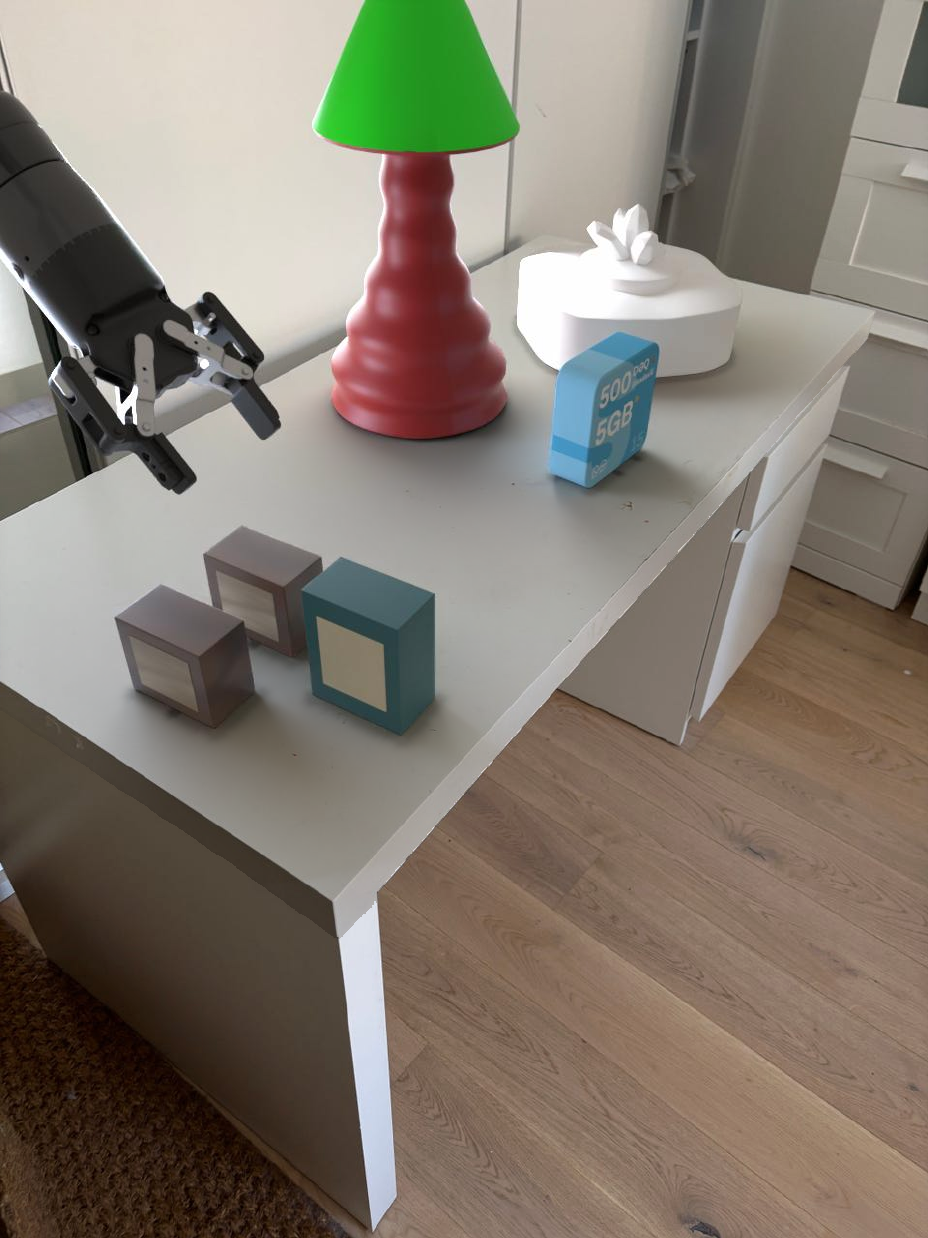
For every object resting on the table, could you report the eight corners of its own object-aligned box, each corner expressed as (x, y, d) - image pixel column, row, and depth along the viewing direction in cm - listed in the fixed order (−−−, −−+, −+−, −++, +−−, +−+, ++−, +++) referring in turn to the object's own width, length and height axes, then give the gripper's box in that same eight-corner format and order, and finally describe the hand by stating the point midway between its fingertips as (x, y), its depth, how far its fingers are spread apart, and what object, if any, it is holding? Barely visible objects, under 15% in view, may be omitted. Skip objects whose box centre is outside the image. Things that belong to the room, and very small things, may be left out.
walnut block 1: (213, 729, 70) (198, 657, 65) (133, 688, 73) (113, 617, 68) (256, 691, 73) (244, 620, 68) (176, 653, 76) (160, 582, 71)
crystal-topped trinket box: (558, 386, 112) (571, 246, 102) (501, 304, 131) (507, 178, 120) (754, 368, 117) (786, 232, 107) (673, 291, 136) (693, 169, 125)
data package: (584, 494, 95) (597, 380, 87) (546, 478, 97) (556, 366, 89) (645, 446, 102) (662, 338, 94) (609, 433, 104) (622, 326, 96)
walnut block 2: (292, 658, 76) (283, 588, 71) (214, 623, 79) (201, 553, 74) (328, 625, 79) (322, 556, 74) (252, 593, 82) (241, 524, 77)
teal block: (400, 736, 69) (397, 630, 63) (312, 694, 72) (300, 590, 66) (435, 697, 72) (435, 593, 66) (348, 659, 76) (340, 556, 69)
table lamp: (366, 457, 99) (338, -83, 70) (309, 376, 113) (266, -103, 84) (537, 422, 106) (576, -86, 77) (463, 350, 119) (473, -104, 91)
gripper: (-2, 256, 55) (181, 485, 58) (174, 193, 65) (324, 393, 68) (-34, 324, 61) (135, 530, 64) (133, 257, 70) (273, 439, 73)
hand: (232, 459), depth 66 cm, fingers open, 8 cm apart
